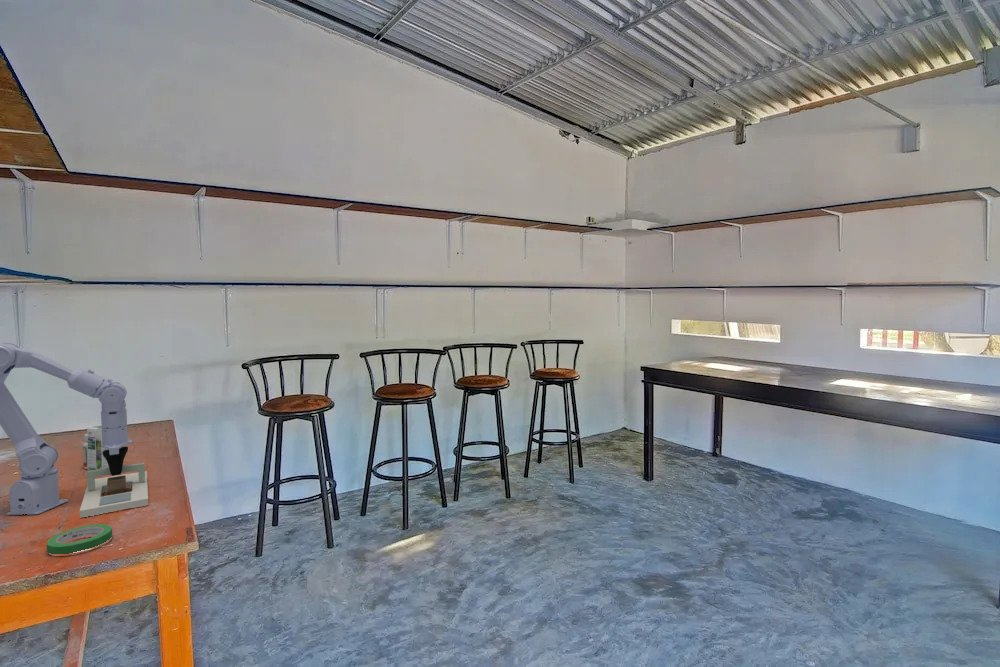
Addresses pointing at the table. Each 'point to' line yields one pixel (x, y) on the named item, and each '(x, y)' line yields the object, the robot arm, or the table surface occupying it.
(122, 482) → the walnut block
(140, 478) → the sliding bridge
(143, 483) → the puzzle board
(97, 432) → the syrup box
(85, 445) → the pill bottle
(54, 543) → the tape roll
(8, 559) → the table surface
